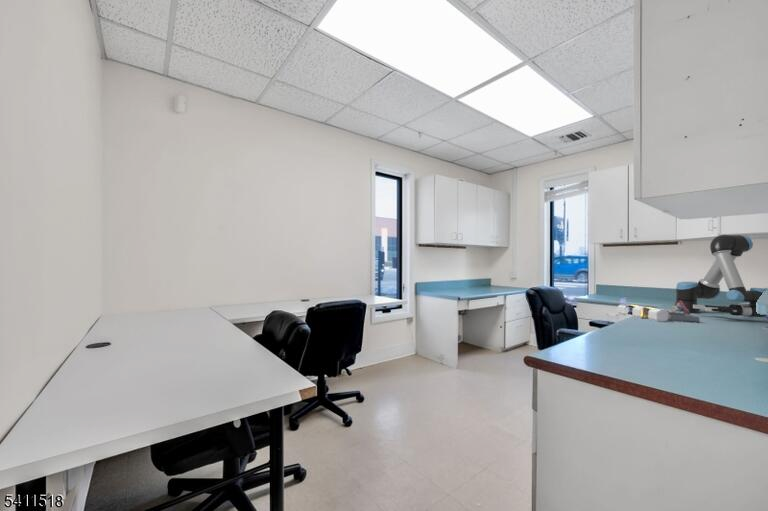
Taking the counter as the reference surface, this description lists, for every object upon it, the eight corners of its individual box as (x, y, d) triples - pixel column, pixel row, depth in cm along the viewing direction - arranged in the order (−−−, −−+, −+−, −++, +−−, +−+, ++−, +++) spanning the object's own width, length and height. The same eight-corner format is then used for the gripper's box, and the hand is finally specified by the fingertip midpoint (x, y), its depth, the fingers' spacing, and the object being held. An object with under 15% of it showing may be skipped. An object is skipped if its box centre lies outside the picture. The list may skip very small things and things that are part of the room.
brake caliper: (697, 314, 214) (686, 300, 214) (684, 323, 214) (673, 309, 215) (682, 311, 225) (672, 298, 226) (670, 320, 226) (659, 306, 226)
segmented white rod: (617, 314, 220) (618, 296, 220) (628, 314, 223) (628, 296, 223) (656, 322, 196) (657, 301, 196) (668, 321, 199) (668, 301, 199)
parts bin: (685, 318, 210) (685, 313, 210) (699, 322, 195) (699, 317, 195) (658, 316, 215) (658, 311, 215) (670, 320, 200) (670, 315, 200)
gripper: (753, 318, 197) (710, 315, 204) (726, 312, 220) (688, 310, 228) (753, 307, 197) (710, 304, 204) (726, 302, 220) (688, 300, 228)
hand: (698, 307), depth 216 cm, fingers open, 13 cm apart
